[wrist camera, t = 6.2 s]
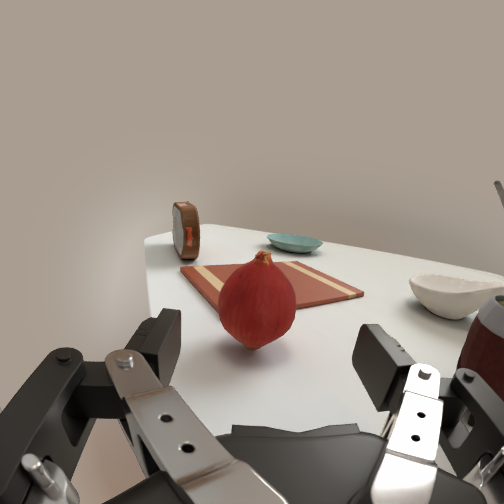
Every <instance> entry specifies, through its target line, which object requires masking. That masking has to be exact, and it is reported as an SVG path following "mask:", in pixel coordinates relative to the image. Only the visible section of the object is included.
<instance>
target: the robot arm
mask: <svg viewBox="0 0 504 504" xmlns="http://www.w3.org/2000/svg"><path fill="white" fill-rule="evenodd" d="M180 348H181V311H180V310H174V309H167V308H163V309H162V311H161V312H160V314H159V316H158V317H157V318H152V317H150V318H148V319H147V320H145V321H143V322H142V323H141V325H140V326H139V327H138V330H136V332H135V334H134V335H133V336H132V338H131V339H130V341H129V342H128V344H127V345H126V347H125V348H124V349H121V350H116V351H113V352H111V353H110V354H108V355H107V357H106V358H105V361H104V362H87V361H84V360H83V356H82V354H81V352H80V351H78V350H76V349H74V348H59V349H56V350H53V351H52V352H51V353H49V354H48V355H47V357H46V358H45V359H44V360H43V361H42V362H41V364H40V365H39V366H38V367H37V368H36V370H35V371H34V372H33V373H32V374H31V376H30V377H29V378H28V379H27V380H26V382H25V383H24V384H23V385H22V387H21V388H20V389H19V390H18V392H17V393H16V394H15V395H14V397H13V398H12V399H11V401H10V402H9V403H8V405H7V406H6V408H5V409H4V410H3V411H2V412H1V414H0V504H79V502H80V500H79V495H78V492H77V491H76V489H75V488H74V486H73V485H72V483H71V482H70V481H71V478H72V476H73V473H74V471H75V468H76V466H77V463H78V461H79V458H80V456H81V453H82V451H83V449H84V446H85V444H86V442H87V439H88V437H89V435H90V432H91V430H92V428H93V426H94V424H95V421H96V419H97V418H104V419H118V421H119V424H120V425H121V428H122V430H123V432H124V434H125V436H126V438H127V440H128V442H129V443H130V446H131V448H132V450H133V451H134V453H135V455H136V457H137V460H138V462H139V464H140V467H141V469H142V471H143V473H144V474H145V476H146V479H145V480H143V481H141V482H140V483H138V484H136V485H135V486H133V487H131V488H130V489H128V490H126V491H124V492H123V493H121V494H119V495H117V496H116V497H114V498H112V499H110V500H108V501H106V502H104V503H102V504H504V402H503V401H502V400H501V398H500V397H499V396H498V395H497V394H496V393H495V392H494V391H493V390H492V388H491V387H490V386H489V385H488V384H487V383H486V382H485V381H484V380H483V379H482V378H481V377H480V376H479V375H478V374H477V373H476V372H474V371H473V370H470V369H467V368H459V369H457V370H456V372H455V374H454V376H453V378H452V379H451V378H440V374H439V372H438V371H437V370H436V369H435V368H433V367H431V366H429V365H426V364H416V362H415V361H414V360H413V359H412V358H411V357H410V355H409V354H408V353H407V352H405V350H404V349H403V347H401V345H400V344H399V343H398V342H397V341H396V339H394V338H392V337H391V336H389V335H388V334H387V333H386V332H385V331H384V330H383V329H382V328H381V326H380V325H378V324H363V325H362V326H361V328H360V330H359V334H358V337H357V341H356V344H355V348H354V351H353V355H352V364H353V367H354V369H355V370H356V372H357V374H358V376H359V378H360V380H361V381H362V383H363V385H364V387H365V389H366V391H367V392H368V394H369V396H370V398H371V400H372V402H373V404H374V406H375V407H376V409H377V411H378V412H382V411H390V413H389V415H388V417H387V419H386V421H385V424H384V426H383V429H382V431H381V434H380V436H378V435H375V434H371V433H367V432H360V430H359V428H358V425H357V423H355V424H344V425H330V426H325V427H321V428H318V429H313V430H309V431H305V432H299V433H298V432H291V431H285V430H280V429H275V428H270V427H265V426H244V425H232V431H231V434H224V435H219V436H215V437H214V436H213V435H212V434H211V432H210V431H209V430H208V429H207V428H206V427H205V426H204V424H203V423H202V422H201V421H200V420H199V418H198V417H197V416H196V415H195V414H194V412H193V411H192V410H191V409H190V407H189V406H188V405H187V404H186V403H185V401H184V400H183V399H182V397H181V396H180V395H179V394H178V392H177V391H176V390H175V388H174V387H172V386H169V383H170V380H171V377H172V375H173V372H174V369H175V366H176V363H177V360H178V357H179V354H180ZM467 408H468V410H469V411H470V412H471V414H472V415H473V416H474V419H475V424H474V427H473V429H472V430H471V432H470V433H469V431H468V430H467V428H466V427H465V425H464V424H463V422H462V421H461V420H460V419H461V418H462V416H463V414H464V413H465V411H466V410H467ZM438 442H439V444H440V445H441V447H442V449H443V451H444V453H445V454H446V456H447V458H448V460H449V462H450V464H451V466H452V467H453V469H454V471H455V473H456V475H457V477H456V476H454V475H452V474H450V473H448V472H446V471H444V470H442V469H440V468H438V467H437V464H435V457H436V452H437V447H438Z"/></svg>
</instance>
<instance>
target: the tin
mask: <svg viewBox="0 0 504 504" xmlns="http://www.w3.org/2000/svg"><path fill="white" fill-rule="evenodd" d="M173 241H174V246H175V248H176V251H177V253H178V255H179V257H180V258H181V259H197V258H198V255H199V247H200V227H199V217H198V212H197V208H196V207H195V206H194V205H193V204H191V203H189V202H188V201H187V202H177V203H174V205H173Z"/></svg>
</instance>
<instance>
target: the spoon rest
mask: <svg viewBox="0 0 504 504" xmlns="http://www.w3.org/2000/svg"><path fill="white" fill-rule="evenodd" d="M409 283H410V286H411V289H412V291H413V293H414V295H415V296H416V298H417V299H418V300H419V302H420V303H421V304H423V305H424V306H425V307H426V308H427V309H428V310H429V311H431V312H432V313H434V314H436V315H438V316H441V317H444V318H448V319H455V320H457V319H462V318H464V317H465V316H467V315H469V314H471V313H473V312H475V311H477V310H479V309H480V308H481V307H482V306H483V305H484V304H485V303H486V302H487V301H488V300H489V299H490V298H491V297H493V296H495V295H504V281H495V282H478V281H470V280H464V279H459V278H454V277H448V276H442V275H434V274H421V275H416V276H412V277H411V278H410V280H409Z"/></svg>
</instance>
